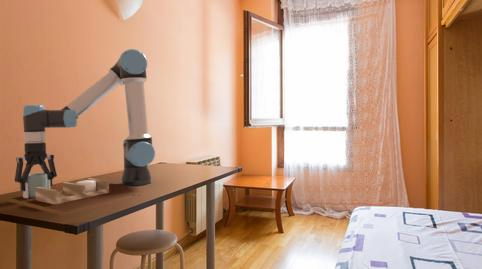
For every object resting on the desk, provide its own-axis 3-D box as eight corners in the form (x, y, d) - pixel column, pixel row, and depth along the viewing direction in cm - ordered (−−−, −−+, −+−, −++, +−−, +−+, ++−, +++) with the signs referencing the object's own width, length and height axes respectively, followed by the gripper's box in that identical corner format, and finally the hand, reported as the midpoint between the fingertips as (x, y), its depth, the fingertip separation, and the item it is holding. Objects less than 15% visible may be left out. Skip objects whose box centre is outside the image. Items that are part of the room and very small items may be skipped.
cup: (28, 197, 136) (27, 173, 135) (49, 195, 139) (48, 172, 138) (24, 201, 128) (23, 176, 128) (46, 199, 131) (45, 175, 131)
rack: (89, 191, 145) (89, 178, 145) (109, 195, 137) (108, 180, 137) (35, 202, 126) (35, 187, 125) (55, 207, 118) (54, 190, 118)
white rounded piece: (89, 190, 141) (89, 179, 141) (99, 192, 137) (99, 181, 137) (72, 194, 135) (72, 182, 135) (83, 196, 131) (82, 184, 131)
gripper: (55, 140, 143) (57, 190, 144) (2, 143, 126) (4, 200, 127) (65, 141, 139) (67, 192, 140) (10, 144, 122) (13, 203, 123)
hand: (37, 196), depth 133 cm, fingers closed on cup, 8 cm apart
